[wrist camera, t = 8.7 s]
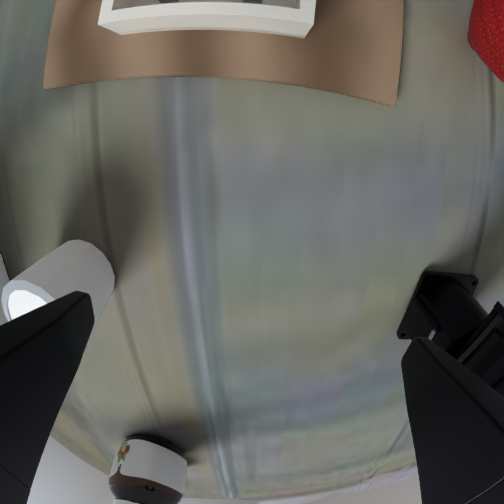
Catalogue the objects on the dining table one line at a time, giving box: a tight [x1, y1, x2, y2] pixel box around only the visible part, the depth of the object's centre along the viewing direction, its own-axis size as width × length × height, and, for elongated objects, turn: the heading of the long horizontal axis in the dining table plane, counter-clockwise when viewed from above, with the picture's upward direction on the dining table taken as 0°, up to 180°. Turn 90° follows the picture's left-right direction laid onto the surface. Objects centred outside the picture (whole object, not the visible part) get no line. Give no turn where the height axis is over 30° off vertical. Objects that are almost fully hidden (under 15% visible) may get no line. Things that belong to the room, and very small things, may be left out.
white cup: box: [1, 239, 115, 354], centre depth 18 cm, size 7×7×7 cm
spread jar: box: [109, 435, 187, 504], centre depth 29 cm, size 12×11×12 cm
